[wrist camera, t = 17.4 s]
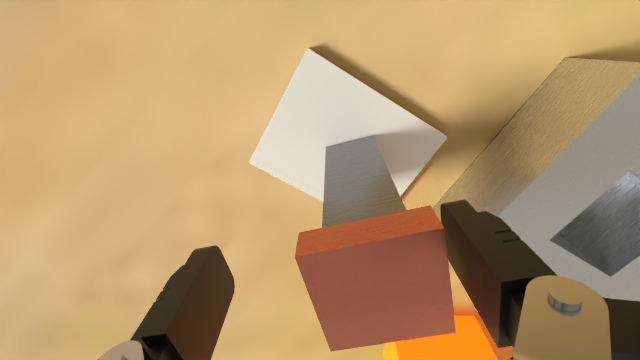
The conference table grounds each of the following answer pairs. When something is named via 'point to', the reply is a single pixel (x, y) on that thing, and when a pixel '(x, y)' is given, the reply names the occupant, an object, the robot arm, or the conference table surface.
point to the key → (374, 256)
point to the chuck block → (570, 175)
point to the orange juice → (445, 345)
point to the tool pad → (339, 128)
